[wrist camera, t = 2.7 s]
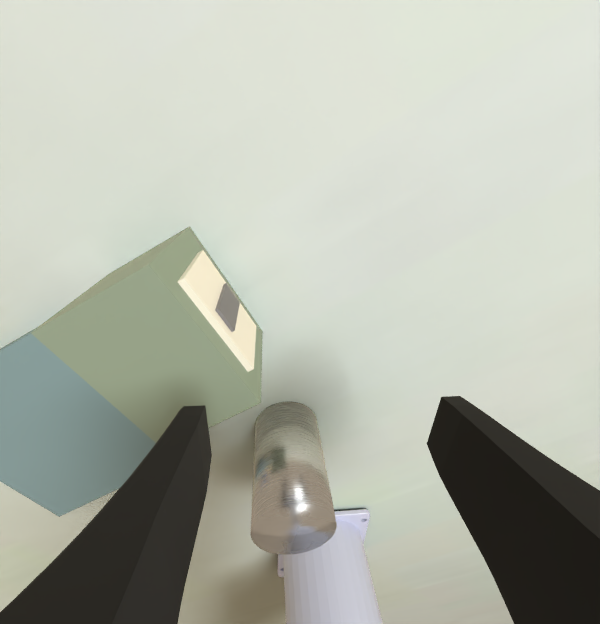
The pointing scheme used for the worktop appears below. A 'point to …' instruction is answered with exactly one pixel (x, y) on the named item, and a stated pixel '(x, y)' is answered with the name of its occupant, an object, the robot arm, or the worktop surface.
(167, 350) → the block
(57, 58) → the worktop surface
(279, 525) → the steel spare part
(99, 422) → the parts mat
